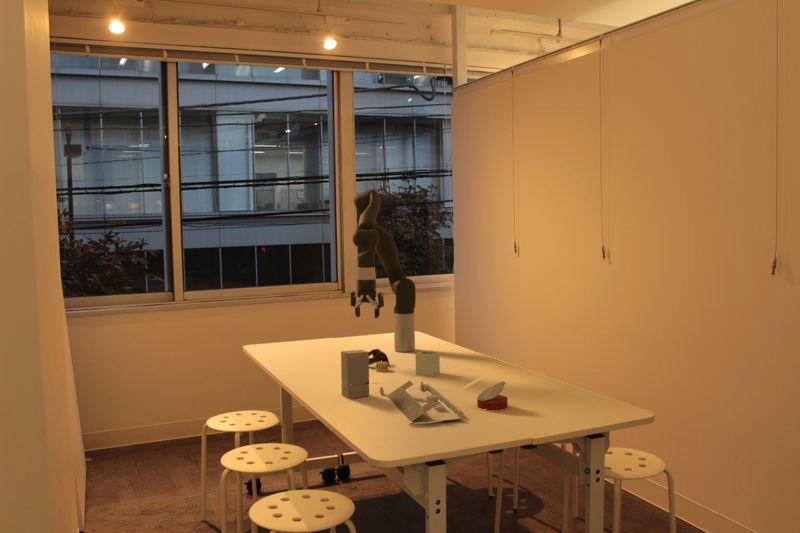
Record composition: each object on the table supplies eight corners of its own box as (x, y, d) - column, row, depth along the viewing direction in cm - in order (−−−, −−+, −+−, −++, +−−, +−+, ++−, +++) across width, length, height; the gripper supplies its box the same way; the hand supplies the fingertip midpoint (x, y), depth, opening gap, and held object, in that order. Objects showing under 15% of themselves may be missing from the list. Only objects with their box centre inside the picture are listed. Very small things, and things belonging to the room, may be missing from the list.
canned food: (501, 424, 251) (497, 401, 246) (473, 417, 256) (469, 394, 251) (515, 402, 259) (512, 378, 254) (488, 395, 264) (484, 372, 259)
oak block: (377, 371, 313) (377, 361, 312) (387, 371, 312) (387, 361, 312) (376, 373, 309) (376, 363, 308) (386, 373, 308) (386, 363, 308)
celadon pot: (423, 373, 307) (423, 350, 307) (439, 374, 304) (439, 351, 304) (415, 376, 301) (415, 353, 300) (432, 378, 298) (432, 355, 297)
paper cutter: (428, 390, 280) (428, 375, 280) (469, 424, 237) (468, 406, 237) (379, 394, 276) (379, 379, 276) (411, 429, 233) (410, 411, 232)
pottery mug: (392, 369, 319) (383, 353, 316) (372, 379, 319) (362, 363, 316) (389, 356, 330) (380, 340, 327) (369, 366, 331) (360, 351, 328)
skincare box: (348, 399, 268) (347, 353, 267) (340, 395, 275) (339, 350, 274) (370, 396, 272) (369, 351, 271) (362, 392, 279) (361, 348, 277)
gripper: (346, 278, 321) (347, 317, 323) (377, 279, 315) (378, 319, 317) (355, 276, 328) (356, 315, 329) (386, 277, 322) (386, 316, 323)
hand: (367, 317), depth 323 cm, fingers open, 8 cm apart
